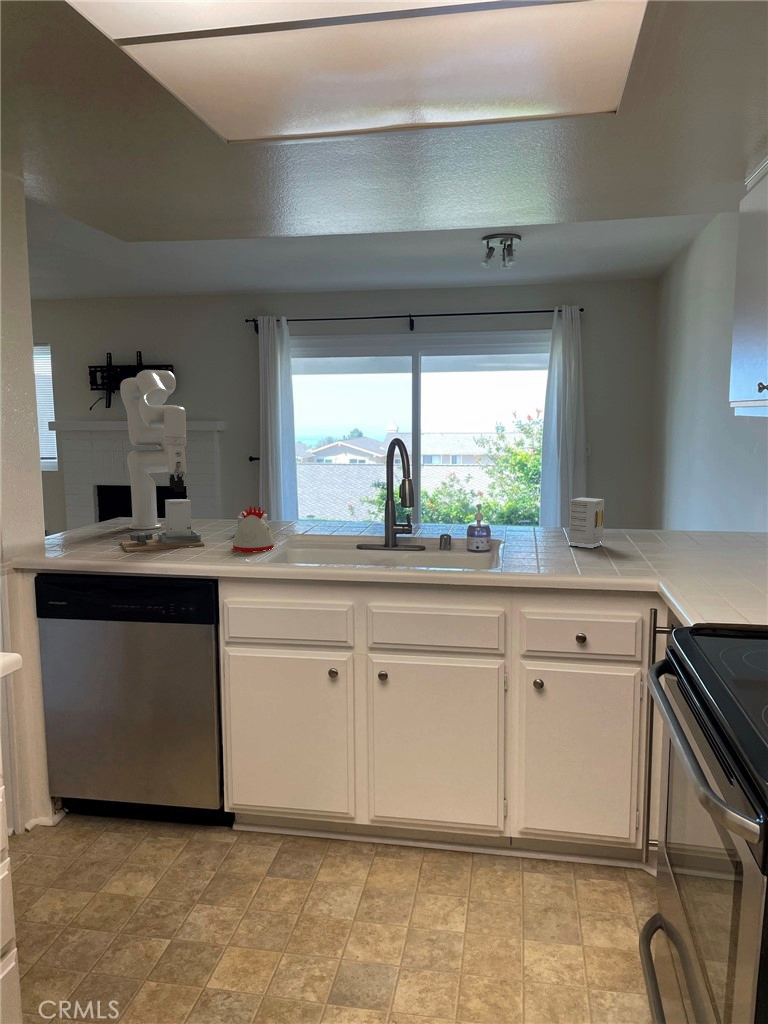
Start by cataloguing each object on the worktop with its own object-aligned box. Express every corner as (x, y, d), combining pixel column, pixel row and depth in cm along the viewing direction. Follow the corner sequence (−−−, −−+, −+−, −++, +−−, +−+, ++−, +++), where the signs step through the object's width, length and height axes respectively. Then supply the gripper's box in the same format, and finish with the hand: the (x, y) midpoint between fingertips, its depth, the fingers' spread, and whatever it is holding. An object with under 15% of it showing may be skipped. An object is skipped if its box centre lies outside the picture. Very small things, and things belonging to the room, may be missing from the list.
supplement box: (592, 549, 248) (595, 501, 246) (567, 546, 254) (569, 499, 251) (602, 545, 256) (605, 498, 253) (578, 542, 261) (580, 496, 259)
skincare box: (168, 542, 254) (167, 501, 252) (165, 540, 259) (163, 499, 257) (192, 540, 258) (191, 499, 255) (189, 538, 263) (187, 498, 261)
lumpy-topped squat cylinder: (270, 531, 283) (270, 510, 282) (257, 537, 271) (257, 514, 270) (246, 530, 286) (245, 509, 284) (232, 536, 273) (231, 513, 272)
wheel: (129, 538, 254) (129, 532, 253) (150, 536, 257) (150, 531, 257) (131, 541, 247) (131, 536, 247) (153, 540, 251) (153, 534, 250)
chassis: (120, 543, 258) (120, 531, 257) (194, 537, 269) (193, 526, 269) (126, 552, 242) (126, 539, 241) (204, 546, 253) (204, 533, 253)
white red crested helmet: (265, 553, 241) (264, 509, 239) (226, 551, 244) (225, 508, 242) (279, 545, 255) (278, 503, 253) (242, 544, 257) (241, 502, 255)
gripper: (191, 443, 247) (192, 492, 250) (181, 439, 262) (182, 486, 265) (168, 443, 244) (170, 493, 247) (160, 440, 259) (161, 487, 262)
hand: (176, 489), depth 256 cm, fingers open, 9 cm apart
